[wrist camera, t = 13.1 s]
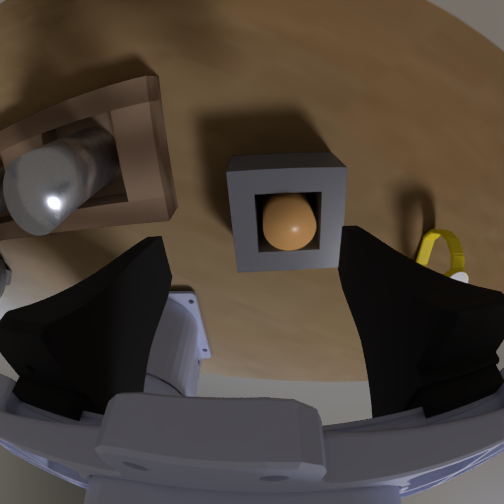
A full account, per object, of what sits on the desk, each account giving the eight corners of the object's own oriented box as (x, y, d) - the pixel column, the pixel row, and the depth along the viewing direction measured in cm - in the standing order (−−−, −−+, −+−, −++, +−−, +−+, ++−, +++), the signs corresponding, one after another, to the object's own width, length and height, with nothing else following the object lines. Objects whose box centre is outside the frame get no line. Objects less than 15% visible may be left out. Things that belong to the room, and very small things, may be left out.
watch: (424, 275, 25) (451, 316, 20) (402, 274, 25) (427, 318, 20) (445, 220, 22) (481, 257, 17) (422, 217, 22) (457, 254, 17)
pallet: (177, 206, 22) (169, 220, 20) (-7, 232, 23) (-20, 243, 21) (158, 76, 16) (145, 75, 14) (-31, 151, 18) (-46, 159, 16)
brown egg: (307, 224, 21) (315, 249, 18) (263, 226, 21) (264, 251, 18) (307, 182, 19) (316, 201, 16) (260, 184, 20) (261, 204, 17)
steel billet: (126, 181, 20) (71, 232, 13) (77, 189, 20) (18, 238, 14) (114, 120, 18) (47, 146, 11) (64, 134, 18) (-5, 166, 11)
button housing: (328, 238, 23) (339, 267, 20) (240, 242, 23) (237, 272, 20) (331, 152, 19) (347, 167, 16) (231, 156, 20) (225, 171, 16)
